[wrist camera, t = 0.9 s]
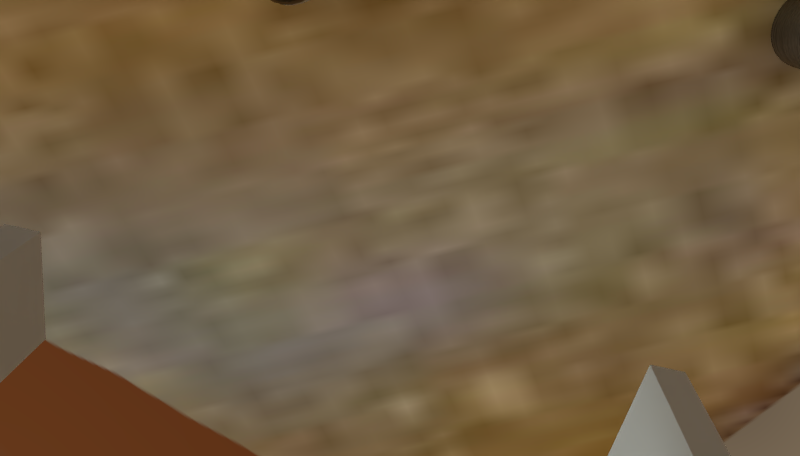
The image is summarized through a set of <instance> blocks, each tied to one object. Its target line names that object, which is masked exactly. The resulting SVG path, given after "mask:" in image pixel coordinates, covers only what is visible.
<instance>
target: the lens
mask: <svg viewBox="0 0 800 456" xmlns="http://www.w3.org/2000/svg"><path fill="white" fill-rule="evenodd" d="M771 42H772V46H773V49H774V51H775V53H776V55H777V56H778V57H779V58H780V59H781V60H782V61H783V62H784V63H786V64H788V65H790V66H792V67H795V68H798V69H800V0H787V1H786V2H785V3H784V4H783V5H782V7H781V8H780V10H779V11H778V13H777V15H776V17H775V19H774V22H773V25H772V30H771Z"/></svg>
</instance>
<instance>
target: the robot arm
mask: <svg viewBox="0 0 800 456" xmlns="http://www.w3.org/2000/svg"><path fill="white" fill-rule="evenodd" d="M45 339H46V336H45V315H44V294H43V273H42V252H41V232H39V231H34V230H29V229H25V228H20V227H16V226H11V225H6V224H4V225H2V226H1V227H0V382H1V381H2V380H3V379H5V378H6V376H7V375H9V374H10V373H11V372H12V371H13V370H14V369H15V368H16V367H17V366H18V365H19V364H20V363H21V362H22V361H23V360H24V359H25V358H26V357H27V356H28V355H29V354H30V353H31V352H33V351H34V350H35V348H37V347H38V346H39V345H40V344H41V343H42V342H43V341H44V340H45ZM608 456H731V455H730V453H729V452H728V450H727V448H726V446H725V444H724V442H723V441H722V439H721V437H720V435H719V433H718V431H717V430H716V428H715V426H714V424H713V422H712V420H711V419H710V417H709V415H708V413H707V411H706V409H705V408H704V406H703V404H702V402H701V400H700V398H699V397H698V395H697V393H696V391H695V389H694V387H693V386H692V384H691V382H690V380H689V378H688V376H687V375H686V373H685V372H681V371H677V370H672V369H668V368H663V367H658V366H654V365H650V366H649V368H648V370H647V373H646V375H645V377H644V379H643V381H642V383H641V386H640V388H639V390H638V392H637V394H636V396H635V398H634V401H633V403H632V405H631V407H630V409H629V411H628V413H627V416H626V418H625V420H624V422H623V424H622V426H621V428H620V431H619V433H618V435H617V437H616V439H615V441H614V443H613V446H612V448H611V450H610V452H609V454H608Z"/></svg>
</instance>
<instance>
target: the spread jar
mask: <svg viewBox="0 0 800 456" xmlns="http://www.w3.org/2000/svg"><path fill="white" fill-rule="evenodd" d="M271 1H273V2H276V3H279V4H282V5H297V4H300V3H303V2H307V1H309V0H271Z"/></svg>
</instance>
